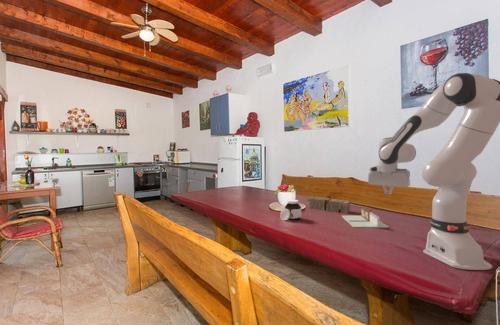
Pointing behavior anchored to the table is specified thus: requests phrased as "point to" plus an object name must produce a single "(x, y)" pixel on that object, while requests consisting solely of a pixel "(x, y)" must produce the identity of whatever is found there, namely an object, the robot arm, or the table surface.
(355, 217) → the card
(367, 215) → the fence fixed
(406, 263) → the table surface
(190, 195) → the table surface
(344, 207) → the grey stone bar
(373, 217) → the fence gate
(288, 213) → the spread jar
